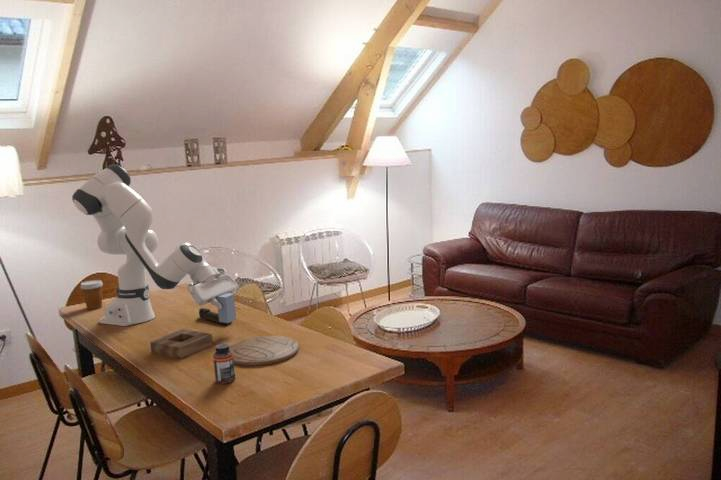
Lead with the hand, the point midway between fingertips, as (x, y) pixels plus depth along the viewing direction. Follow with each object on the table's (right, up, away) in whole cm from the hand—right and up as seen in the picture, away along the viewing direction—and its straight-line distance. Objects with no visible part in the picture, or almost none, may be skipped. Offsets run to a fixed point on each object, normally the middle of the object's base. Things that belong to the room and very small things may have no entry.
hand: (227, 305), depth 223 cm
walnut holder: (-14, -14, -11) cm, 22 cm away
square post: (0, -6, +1) cm, 6 cm away
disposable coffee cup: (-72, -6, +48) cm, 87 cm away
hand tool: (-10, -9, +19) cm, 23 cm away
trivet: (+16, -15, -19) cm, 29 cm away
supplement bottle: (+9, -19, -41) cm, 46 cm away
